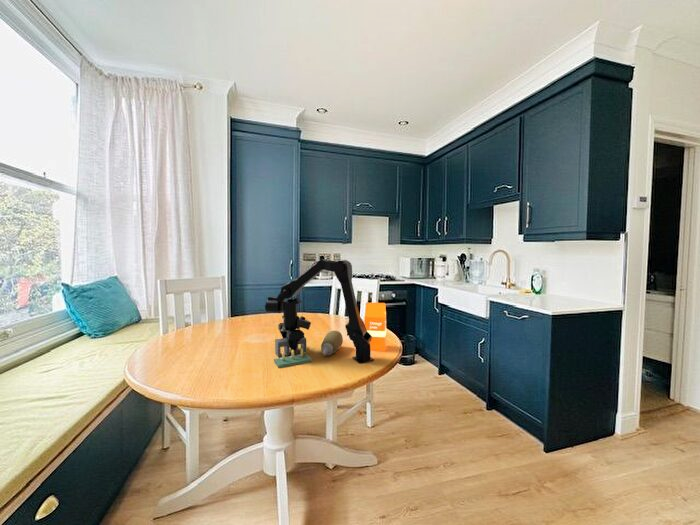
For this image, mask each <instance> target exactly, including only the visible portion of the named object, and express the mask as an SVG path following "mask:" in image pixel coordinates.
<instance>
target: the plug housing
mask: <svg viewBox="0 0 700 525" xmlns="http://www.w3.org/2000/svg"><path fill="white" fill-rule="evenodd" d="M299 345H300V349H301V348H303V354H307V352H308V351H307V338H306V337H305V336H304V338H302V339H300V340H299V341H298V344H297V348H296V351H295V353H294V355H299ZM281 348H283V351H285V356H286V357H289V356H291V355H290V353H291V352H290V348H289V344H288V341H287V338H283V337H281V338H277V339H276V338H275V339H274V353H275V356H276V357H277V358H282V352H281V351H282V350H281Z"/></svg>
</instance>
